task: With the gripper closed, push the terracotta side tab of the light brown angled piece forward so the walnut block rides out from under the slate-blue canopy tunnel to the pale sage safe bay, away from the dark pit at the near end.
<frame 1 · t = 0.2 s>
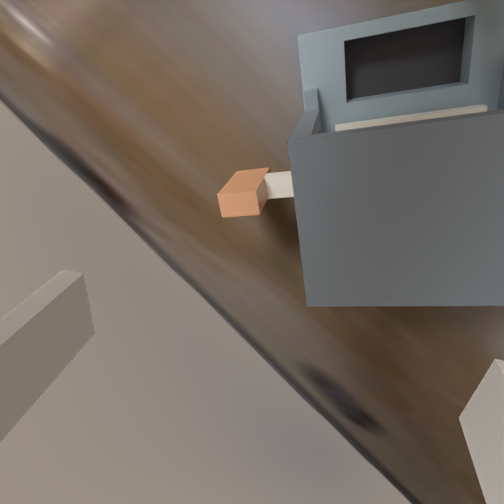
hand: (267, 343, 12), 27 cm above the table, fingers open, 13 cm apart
tunnel deck: (398, 165, 33), on the table
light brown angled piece: (348, 181, 29), point 6 cm above the table, slide at 0.0 cm, touching walnut block
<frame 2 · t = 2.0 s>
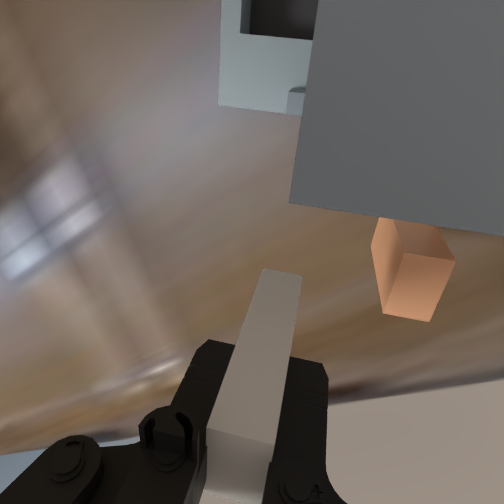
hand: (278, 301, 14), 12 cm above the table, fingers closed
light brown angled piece: (472, 58, 13), point 6 cm above the table, slide at 0.0 cm, touching walnut block
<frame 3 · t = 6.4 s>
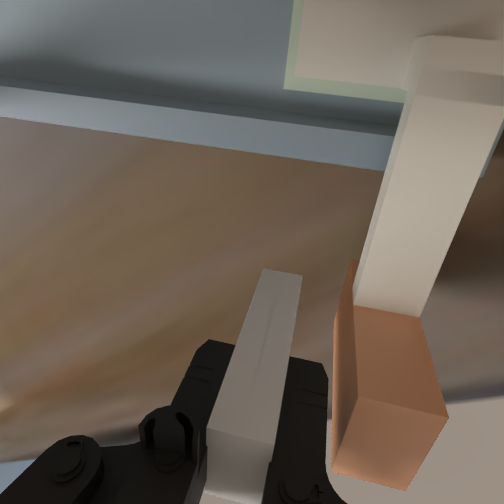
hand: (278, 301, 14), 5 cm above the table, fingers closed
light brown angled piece: (480, 58, 7), point 6 cm above the table, slide at 12.4 cm, touching walnut block
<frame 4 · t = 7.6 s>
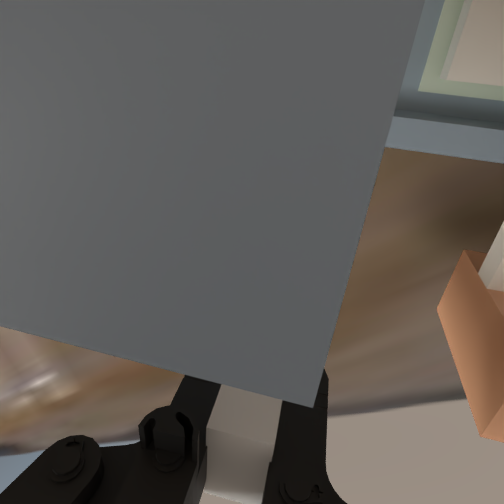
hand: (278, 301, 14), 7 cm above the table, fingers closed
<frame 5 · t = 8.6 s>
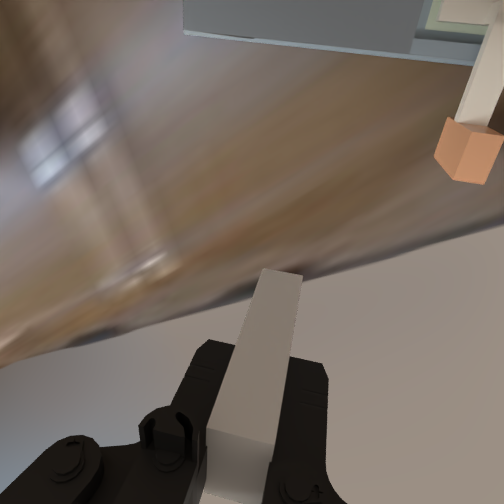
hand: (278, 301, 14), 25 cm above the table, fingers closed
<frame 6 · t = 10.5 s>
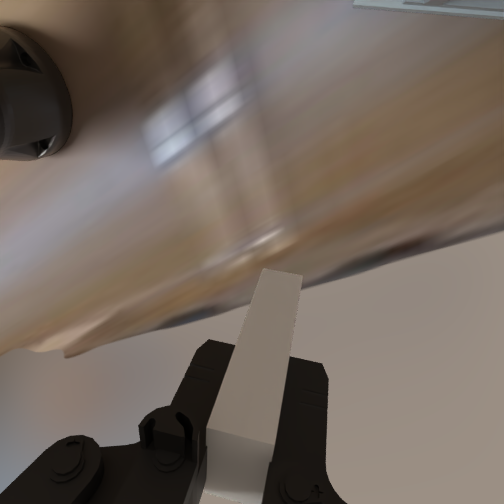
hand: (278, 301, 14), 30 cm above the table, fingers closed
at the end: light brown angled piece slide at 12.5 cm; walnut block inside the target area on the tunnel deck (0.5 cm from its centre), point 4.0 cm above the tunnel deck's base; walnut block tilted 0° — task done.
